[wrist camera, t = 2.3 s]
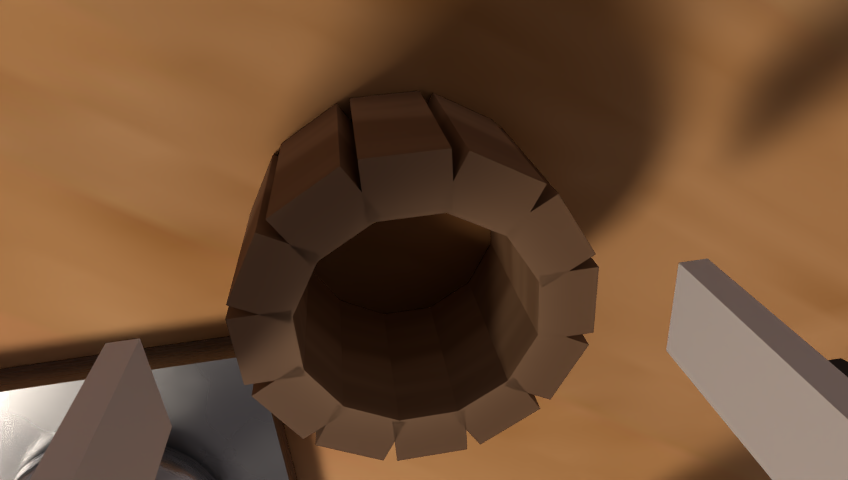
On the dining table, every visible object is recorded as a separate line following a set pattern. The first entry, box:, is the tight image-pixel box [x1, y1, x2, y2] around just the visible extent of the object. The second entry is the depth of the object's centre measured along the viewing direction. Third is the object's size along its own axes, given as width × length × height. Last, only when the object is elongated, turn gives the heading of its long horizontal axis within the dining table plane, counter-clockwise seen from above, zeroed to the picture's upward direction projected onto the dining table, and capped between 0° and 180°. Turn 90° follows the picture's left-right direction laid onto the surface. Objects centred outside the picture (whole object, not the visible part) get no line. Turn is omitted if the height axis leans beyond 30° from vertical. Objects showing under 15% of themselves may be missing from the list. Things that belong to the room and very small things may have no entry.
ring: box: [226, 91, 599, 461], centre depth 17 cm, size 9×9×5 cm
